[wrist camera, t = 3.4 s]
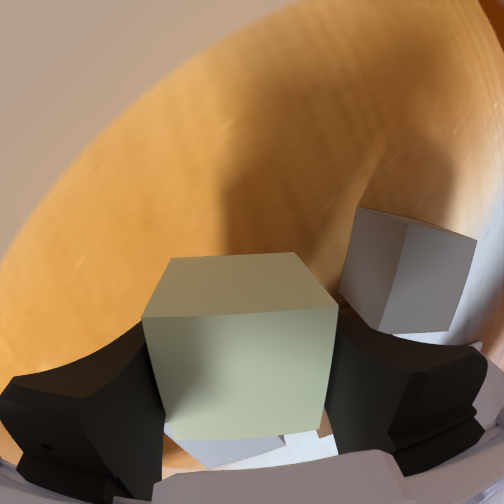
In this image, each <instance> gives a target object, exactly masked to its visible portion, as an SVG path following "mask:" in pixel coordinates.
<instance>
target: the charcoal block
mask: <svg viewBox="0 0 504 504" xmlns="http://www.w3.org/2000/svg"><path fill="white" fill-rule="evenodd" d="M476 244H477V240H475V239H472V238H469V237H467V236H464V235H461V234H459V233H456V232H453V231H450V230H448V229H445V228H442V227H439V226H436V225H433V224H430V223H428V222H425V221H421V220H417V219H413V218H408V217H404V216H400V215H395V214H391V213H386V212H382V211H377V210H372V209H368V208H363V207H358V206H357V208H356V213H355V218H354V223H353V228H352V233H351V237H350V242H349V246H348V251H347V255H346V260H345V264H344V268H343V272H342V276H341V280H340V284H339V288H338V292H339V293H340V294H341V295H342V296H343V297H344V299H345V300H346V301H347V302H348V303H349V304H350V305H351V306H352V307H353V309H354V310H355V311H356V312H357V313H358V314H359V315H360V316H361V318H362V319H363V320H364V321H365V322H366V323H367V324H368V325H369V327H370V328H373V329H375V330H378V331H380V332H383V333H386V334H406V333H426V332H442V331H448V330H449V327H450V325H451V322H452V320H453V317H454V315H455V312H456V309H457V307H458V304H459V301H460V298H461V295H462V292H463V289H464V286H465V283H466V280H467V277H468V274H469V270H470V267H471V263H472V260H473V256H474V252H475V248H476Z"/></svg>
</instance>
